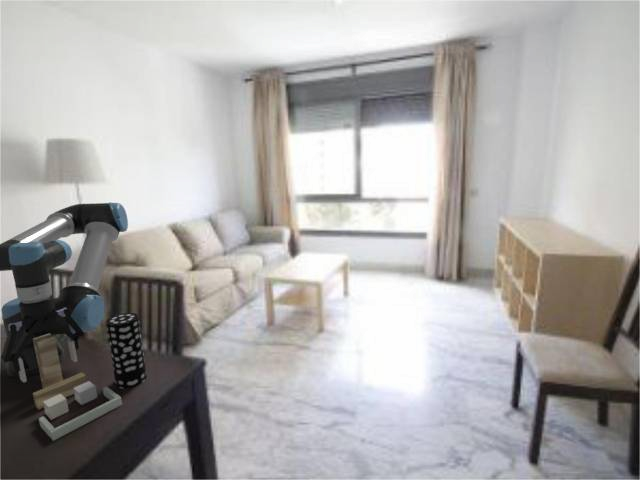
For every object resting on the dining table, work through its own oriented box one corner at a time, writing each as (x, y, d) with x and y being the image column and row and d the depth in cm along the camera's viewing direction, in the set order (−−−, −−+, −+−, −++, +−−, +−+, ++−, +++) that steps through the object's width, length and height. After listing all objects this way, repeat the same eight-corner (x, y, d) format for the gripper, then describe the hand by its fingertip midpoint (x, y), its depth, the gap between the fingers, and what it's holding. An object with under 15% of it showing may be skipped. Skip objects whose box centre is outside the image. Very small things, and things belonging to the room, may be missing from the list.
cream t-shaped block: (26, 396, 103) (14, 344, 100) (74, 376, 113) (65, 328, 109) (38, 409, 98) (27, 355, 94) (87, 387, 107) (79, 336, 104)
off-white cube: (45, 415, 96) (42, 401, 95) (63, 406, 99) (60, 393, 98) (51, 421, 94) (48, 407, 93) (69, 412, 97) (66, 399, 96)
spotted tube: (134, 390, 105) (124, 325, 101) (109, 387, 107) (98, 323, 103) (152, 374, 113) (144, 313, 109) (129, 371, 115) (120, 312, 111)
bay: (40, 427, 92) (38, 418, 91) (107, 394, 104) (106, 386, 104) (53, 441, 87) (51, 432, 86) (122, 405, 99) (121, 397, 99)
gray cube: (75, 400, 102) (73, 387, 101) (91, 393, 105) (89, 380, 104) (81, 406, 99) (79, 393, 98) (97, 398, 102) (95, 385, 102)
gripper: (-18, 316, 89) (0, 396, 94) (89, 288, 108) (100, 355, 113) (-26, 310, 94) (-8, 386, 98) (78, 283, 113) (89, 348, 117)
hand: (50, 370), depth 106 cm, fingers open, 12 cm apart
